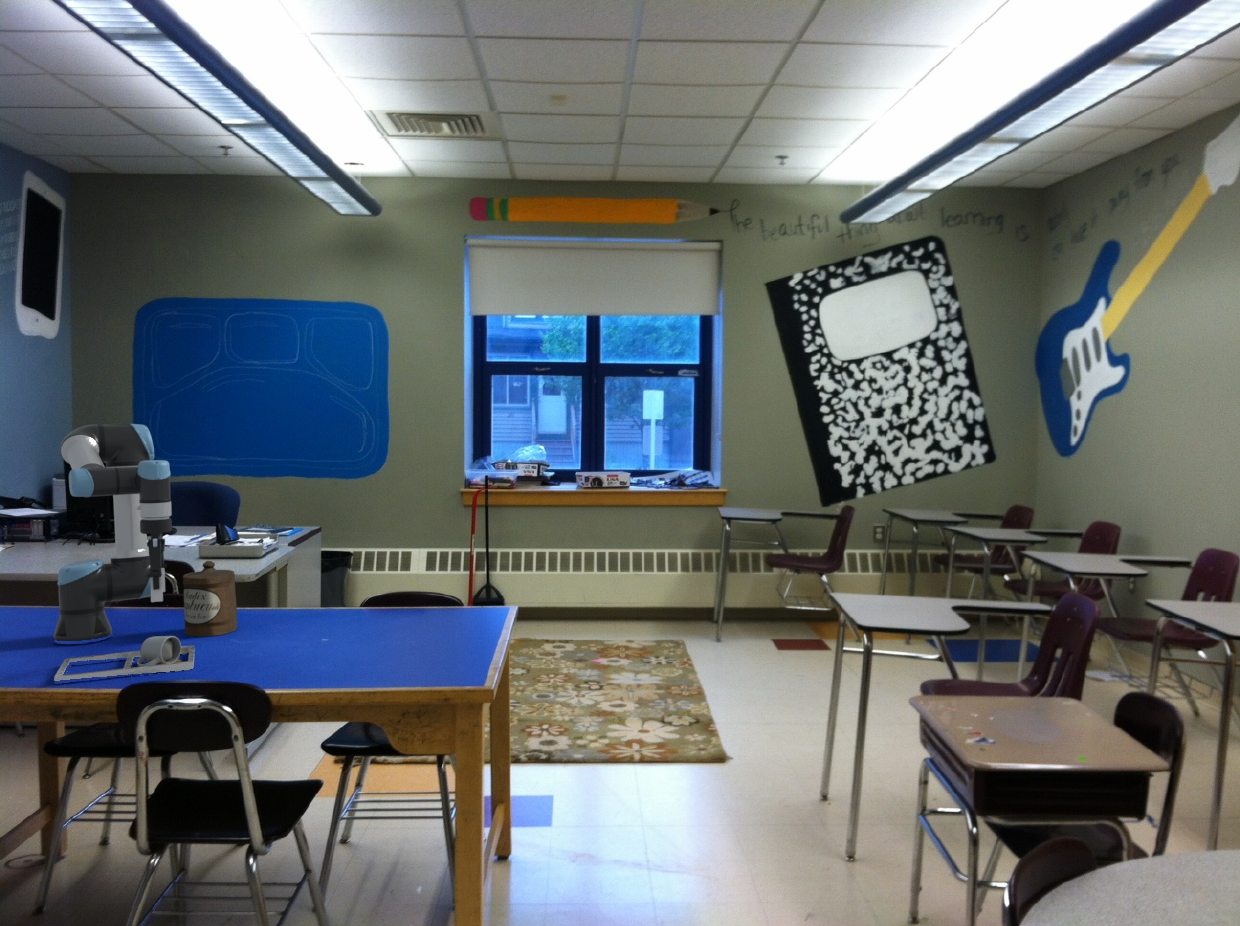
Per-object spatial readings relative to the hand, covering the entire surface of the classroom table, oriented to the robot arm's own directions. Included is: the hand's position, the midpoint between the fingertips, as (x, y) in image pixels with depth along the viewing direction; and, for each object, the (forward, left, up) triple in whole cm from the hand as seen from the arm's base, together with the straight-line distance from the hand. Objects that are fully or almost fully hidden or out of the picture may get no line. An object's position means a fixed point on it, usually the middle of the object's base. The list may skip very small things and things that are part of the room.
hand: (158, 596), depth 238 cm
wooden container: (-35, +13, -19) cm, 41 cm away
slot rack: (0, -7, -18) cm, 20 cm away
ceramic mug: (+1, -1, -18) cm, 18 cm away
